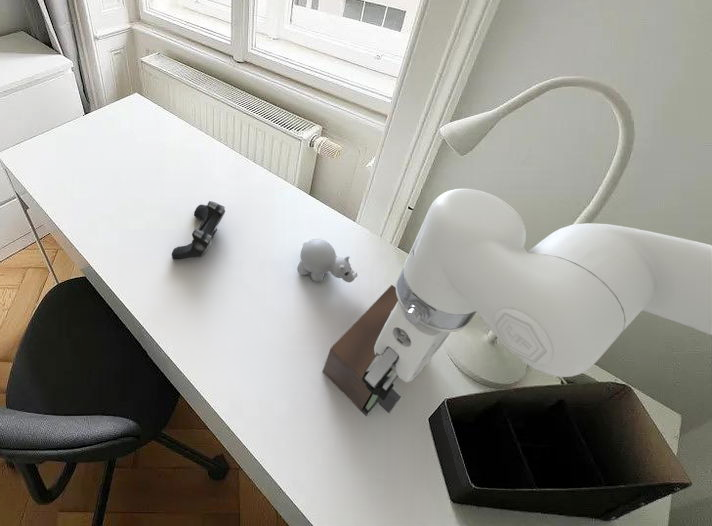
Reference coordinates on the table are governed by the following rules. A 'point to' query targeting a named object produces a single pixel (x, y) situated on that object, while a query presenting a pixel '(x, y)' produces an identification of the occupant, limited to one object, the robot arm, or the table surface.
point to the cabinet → (359, 351)
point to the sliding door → (388, 402)
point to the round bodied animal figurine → (324, 261)
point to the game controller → (201, 231)
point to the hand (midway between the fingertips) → (395, 363)
